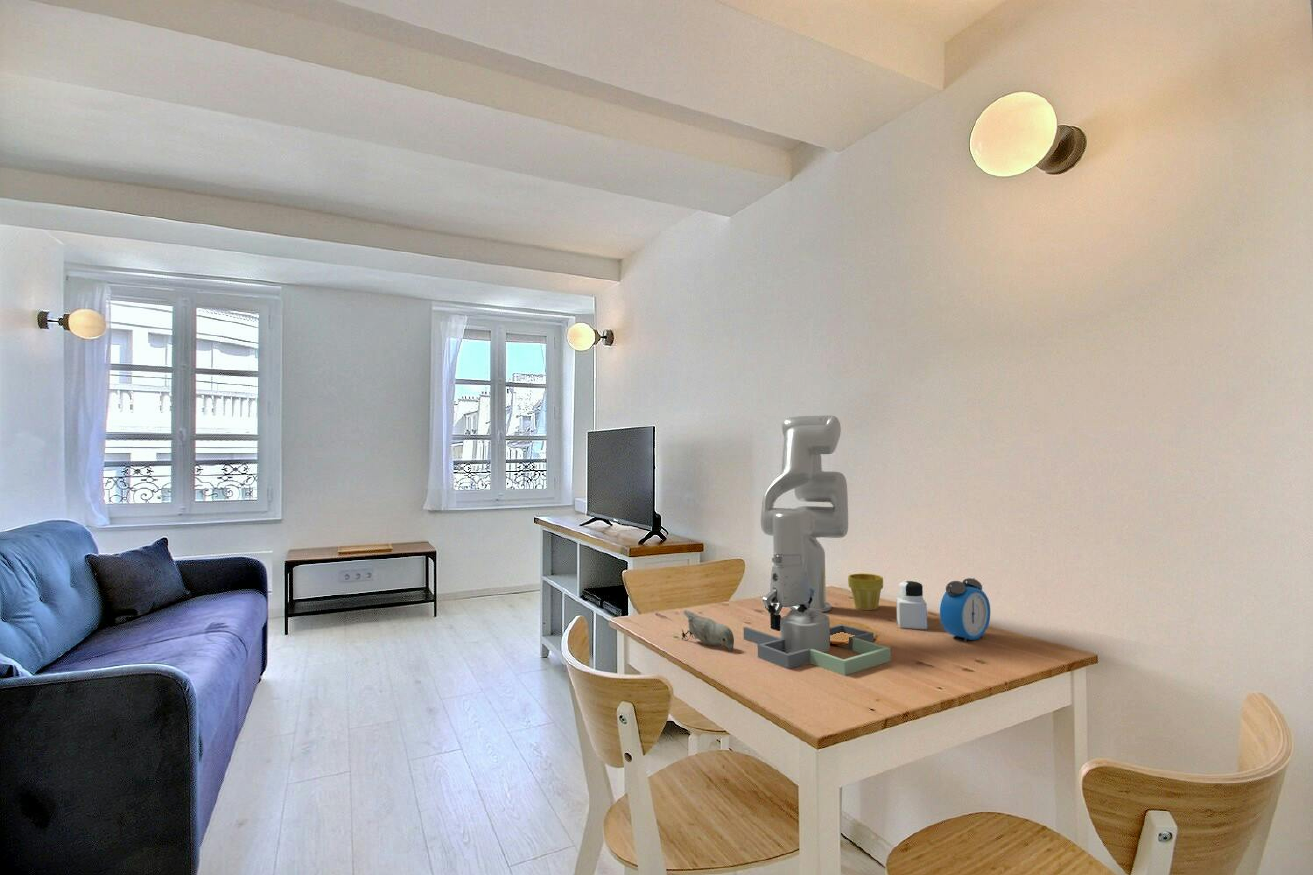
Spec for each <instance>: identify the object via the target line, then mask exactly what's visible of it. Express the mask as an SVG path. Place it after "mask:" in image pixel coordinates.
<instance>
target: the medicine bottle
mask: <svg viewBox="0 0 1313 875" xmlns="http://www.w3.org/2000/svg"><path fill="white" fill-rule="evenodd" d="M923 586H924V585H923V584H922V583H920V582H918V581H913V580H903V581H901V582H899V584H898V590H899V596H896V622H897V624H898V627H899V628H900V629H912V630H927V629H928V611H927V610H928V609H927V608H928V607H927V603H926V601H925V599H924V595H923V592H924V591H923Z"/></svg>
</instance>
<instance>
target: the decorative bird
mask: <svg viewBox="0 0 1313 875" xmlns="http://www.w3.org/2000/svg"><path fill="white" fill-rule="evenodd" d="M682 614H683V615H685V617H686V618H687V619H688V621H687V622H688V630H687V632H686V633H684V630H683V629H681V631H682V633H681V635H682V639H681V641H683V640H684V639H686V638H688V635H687V634H688V633H689V638H693V637H694V638H696V639H698V640H699V641H701V642H702V643H703V644H706V645H710V646H720V644H721V645H723V646H725V648H726V649H727V650H729V651H730V652H733V651H734V650H733V649H734V647H735V644H734V643H735V638H734V637H735V636H734V635H733V634H734V633H733V631H732V630H731V628H730V627H729V626H727V625H726V624H723V623H718V622H716V621H715V620H713V619H711V618H708V617H705V616H700V615H698V614H696V613H694V612H692V611H689V610H683V612H682Z"/></svg>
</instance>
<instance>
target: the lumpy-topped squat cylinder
mask: <svg viewBox="0 0 1313 875" xmlns="http://www.w3.org/2000/svg"><path fill="white" fill-rule="evenodd" d="M830 620H831V619H830V617H829V616H828V615H827V614H825V613H824V612H821V611H816V612H815V611H813V610H811V609H807V610H805V611H804V612H803V613H801V612H799V611H798V610H795V609H794V610H793V609H791V610H790V611H789V612H788V614H787V615H783V616H781V618H780V631H779V632H780V633H779V634H780V636H779V638H781V639H784V640H785V651H786V652H789V653H792V652H796V651H800V650H804V649H808V648H811V649H814V650H817V651H820V652H823V653H826V652H828V651H829V650H830V649H831V644H830V627H831V626H830V625H831V624H830Z"/></svg>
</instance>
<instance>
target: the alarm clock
mask: <svg viewBox="0 0 1313 875" xmlns="http://www.w3.org/2000/svg"><path fill="white" fill-rule="evenodd" d="M939 617H940V618H939V619H940V623H941V626H942V628H943V629H944V630H945V632H946V633H947V634H949V635H952V636H955V637H959V638H962V639H964V641H963V642H964V643H966V642H967V640H970V641H976V640H978V639H980V638H982V639H983V635H984V634H985V633H986V631H987V629H988V627H989V625H990V621H991V604H990V600H989V598H988V596H987V595H986V592H985V591H983V585H982V583H981V582H980V581H979V580H978V579H975V577H973V578H972V577H971V578H969V577H967V578H965V579H963V580H962V581H959V580H952V581H950V582H948V583H947V584H946V586H945V593H944V594H943V596H942V598H941V601H940V607H939Z"/></svg>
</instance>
